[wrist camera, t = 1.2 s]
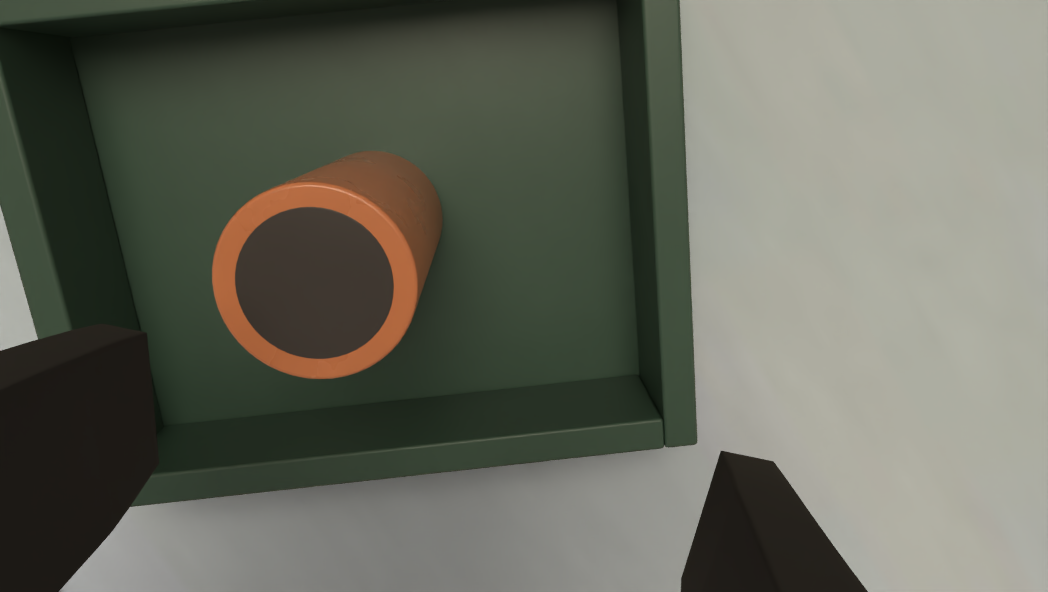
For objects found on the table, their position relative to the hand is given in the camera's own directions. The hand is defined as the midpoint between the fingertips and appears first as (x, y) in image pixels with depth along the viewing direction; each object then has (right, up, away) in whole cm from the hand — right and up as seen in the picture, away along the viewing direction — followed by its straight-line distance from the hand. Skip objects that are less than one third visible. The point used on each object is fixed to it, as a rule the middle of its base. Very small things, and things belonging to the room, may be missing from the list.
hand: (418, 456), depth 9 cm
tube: (-2, +4, +10) cm, 11 cm away
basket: (-3, +4, +10) cm, 12 cm away
